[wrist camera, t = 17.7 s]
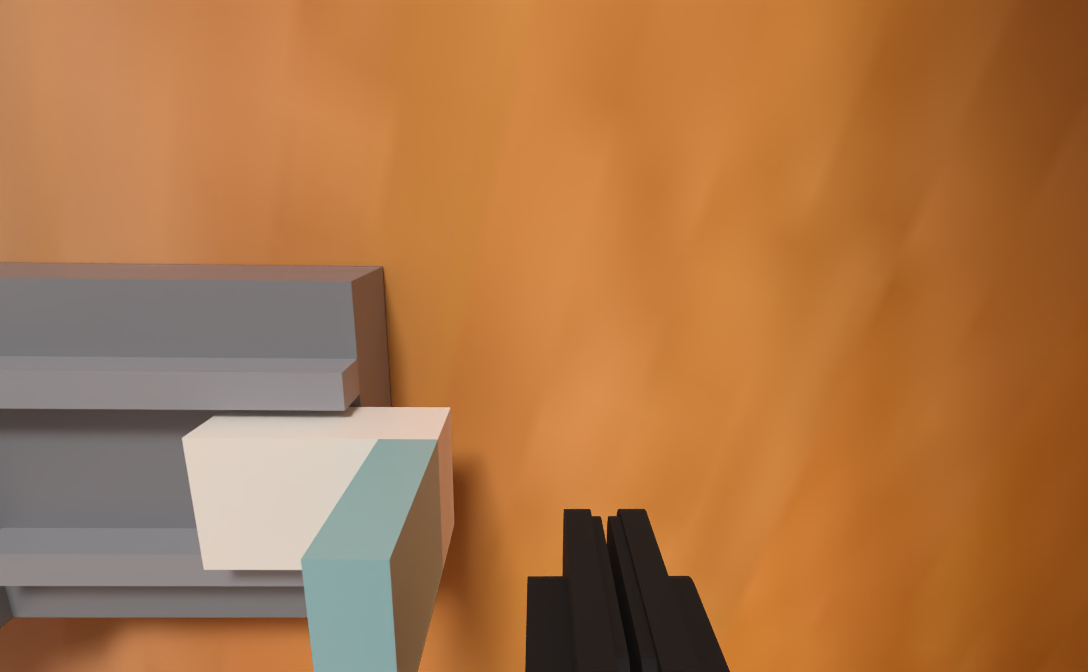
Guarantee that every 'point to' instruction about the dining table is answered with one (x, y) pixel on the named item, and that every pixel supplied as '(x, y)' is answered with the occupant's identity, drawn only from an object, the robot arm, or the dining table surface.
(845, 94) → the dining table surface
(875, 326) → the dining table surface
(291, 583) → the frame
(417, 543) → the latch
